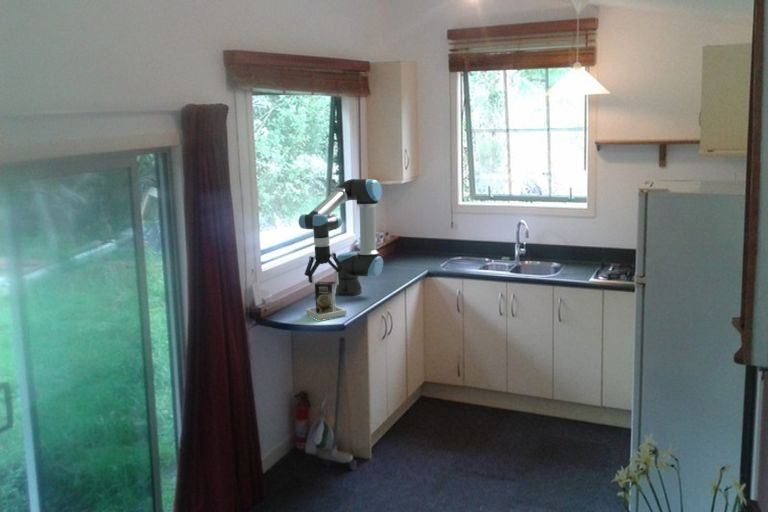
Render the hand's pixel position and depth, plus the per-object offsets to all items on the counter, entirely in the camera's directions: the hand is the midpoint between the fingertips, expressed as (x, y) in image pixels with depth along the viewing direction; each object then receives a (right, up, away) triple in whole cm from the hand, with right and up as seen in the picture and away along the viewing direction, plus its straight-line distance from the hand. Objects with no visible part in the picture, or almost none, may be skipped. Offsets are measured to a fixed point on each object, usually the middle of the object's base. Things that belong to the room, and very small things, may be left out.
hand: (324, 286), depth 376 cm
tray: (0, -15, +3) cm, 15 cm away
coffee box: (+1, -14, +2) cm, 14 cm away
